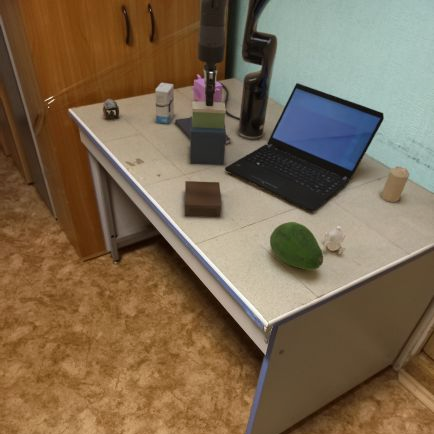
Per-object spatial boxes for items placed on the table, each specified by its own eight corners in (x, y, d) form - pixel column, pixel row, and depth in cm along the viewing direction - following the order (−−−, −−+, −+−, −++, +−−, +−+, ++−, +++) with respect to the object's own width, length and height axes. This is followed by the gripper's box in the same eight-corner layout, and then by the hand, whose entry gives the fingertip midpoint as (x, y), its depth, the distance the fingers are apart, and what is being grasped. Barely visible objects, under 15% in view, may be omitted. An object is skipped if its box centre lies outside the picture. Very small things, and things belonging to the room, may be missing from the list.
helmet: (117, 117, 163) (113, 98, 160) (123, 116, 156) (119, 96, 153) (103, 120, 160) (98, 100, 158) (108, 119, 154) (103, 98, 151)
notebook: (175, 123, 159) (198, 149, 146) (175, 119, 158) (198, 144, 145) (205, 119, 164) (231, 143, 151) (205, 115, 163) (231, 139, 150)
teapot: (181, 98, 177) (181, 73, 170) (208, 93, 182) (210, 69, 175) (202, 115, 166) (203, 89, 159) (230, 110, 172) (232, 84, 165)
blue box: (190, 147, 147) (190, 116, 139) (221, 148, 148) (224, 117, 140) (190, 163, 139) (190, 131, 131) (223, 164, 140) (226, 132, 132)
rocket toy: (321, 253, 111) (328, 229, 105) (322, 240, 114) (329, 216, 109) (341, 257, 110) (350, 233, 104) (342, 244, 114) (350, 220, 108)
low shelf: (185, 192, 127) (185, 181, 124) (218, 193, 127) (219, 182, 125) (184, 216, 118) (185, 204, 115) (220, 217, 119) (221, 205, 116)
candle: (400, 195, 133) (412, 166, 126) (397, 203, 130) (410, 174, 123) (382, 190, 135) (393, 161, 128) (379, 198, 131) (391, 169, 124)
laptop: (223, 172, 136) (228, 112, 122) (286, 136, 158) (296, 82, 144) (311, 215, 122) (328, 153, 109) (367, 169, 144) (387, 112, 130)
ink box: (168, 124, 159) (167, 92, 150) (155, 122, 159) (154, 90, 151) (174, 115, 164) (174, 83, 156) (162, 113, 165) (161, 81, 157)
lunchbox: (191, 119, 137) (192, 101, 133) (223, 121, 138) (224, 102, 134) (191, 127, 133) (192, 108, 129) (224, 129, 134) (225, 110, 130)
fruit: (327, 272, 105) (338, 241, 98) (297, 286, 101) (306, 255, 94) (289, 239, 114) (296, 208, 107) (259, 250, 110) (265, 219, 102)
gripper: (226, 50, 114) (222, 110, 125) (223, 34, 124) (220, 91, 135) (198, 49, 113) (196, 109, 125) (197, 33, 123) (196, 90, 135)
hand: (208, 100), depth 130 cm, fingers open, 8 cm apart
